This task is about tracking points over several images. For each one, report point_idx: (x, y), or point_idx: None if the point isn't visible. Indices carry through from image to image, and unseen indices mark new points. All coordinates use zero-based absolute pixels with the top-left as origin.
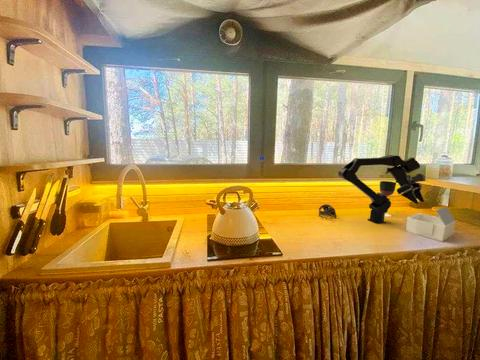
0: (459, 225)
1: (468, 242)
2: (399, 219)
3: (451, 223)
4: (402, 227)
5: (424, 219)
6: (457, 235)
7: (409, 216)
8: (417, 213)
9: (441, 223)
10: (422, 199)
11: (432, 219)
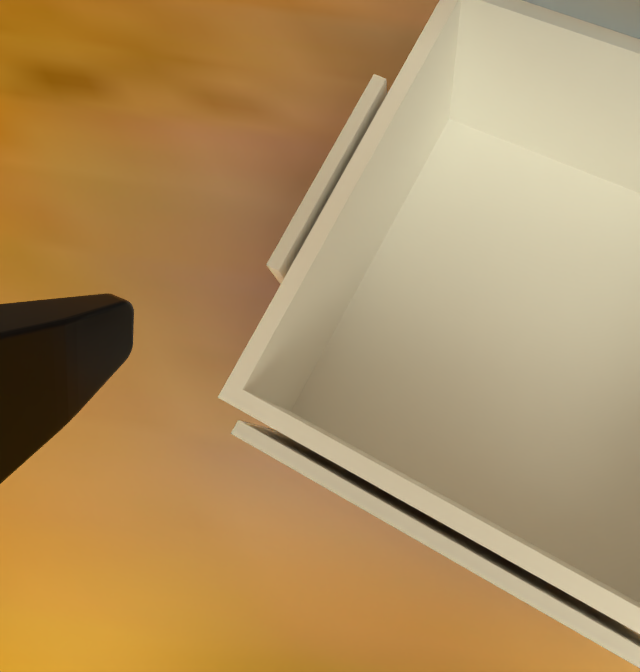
0: (12, 3)
1: None
2: (54, 618)
3: (636, 39)
4: (463, 644)
5: (293, 346)
6: None
7: (621, 651)
8: (253, 445)
9: (396, 159)
10: (83, 334)
11: (338, 246)
